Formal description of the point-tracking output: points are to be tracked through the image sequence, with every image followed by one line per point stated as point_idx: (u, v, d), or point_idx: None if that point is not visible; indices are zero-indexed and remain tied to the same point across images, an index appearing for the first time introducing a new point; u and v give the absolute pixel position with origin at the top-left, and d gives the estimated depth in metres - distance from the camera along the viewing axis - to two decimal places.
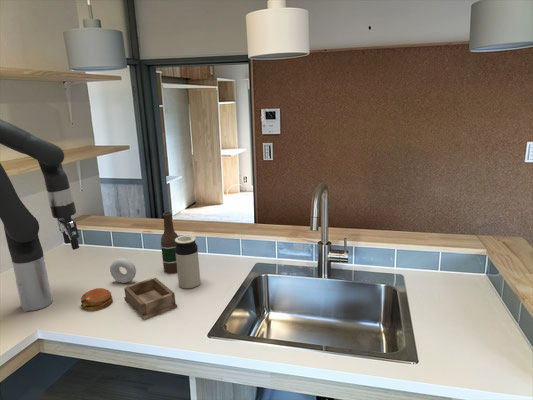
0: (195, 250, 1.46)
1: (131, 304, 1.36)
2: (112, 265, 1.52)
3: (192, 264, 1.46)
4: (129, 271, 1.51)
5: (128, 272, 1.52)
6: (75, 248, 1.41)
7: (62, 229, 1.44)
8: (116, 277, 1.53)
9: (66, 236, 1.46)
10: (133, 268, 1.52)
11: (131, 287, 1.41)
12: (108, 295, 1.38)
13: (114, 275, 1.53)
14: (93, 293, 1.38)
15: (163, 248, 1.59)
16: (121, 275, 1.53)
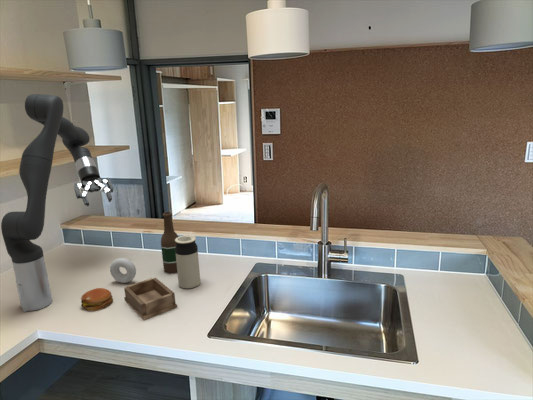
0: (195, 250, 1.46)
1: (131, 304, 1.36)
2: (112, 265, 1.52)
3: (192, 264, 1.46)
4: (129, 271, 1.51)
5: (128, 272, 1.52)
6: (110, 199, 1.65)
7: (87, 190, 1.62)
8: (116, 277, 1.53)
9: None
10: (133, 268, 1.52)
11: (131, 287, 1.41)
12: (108, 295, 1.38)
13: (114, 275, 1.53)
14: (94, 293, 1.38)
15: (163, 248, 1.59)
16: (121, 275, 1.53)
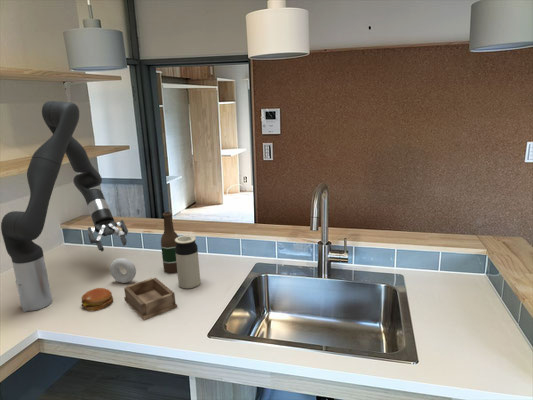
0: (195, 250, 1.46)
1: (131, 304, 1.36)
2: (112, 265, 1.52)
3: (192, 264, 1.46)
4: (129, 271, 1.51)
5: (128, 272, 1.52)
6: (125, 243, 1.60)
7: (101, 234, 1.57)
8: (116, 277, 1.53)
9: None
10: (133, 268, 1.52)
11: (131, 287, 1.41)
12: (109, 295, 1.38)
13: (114, 275, 1.53)
14: (94, 293, 1.38)
15: (163, 248, 1.59)
16: (121, 275, 1.53)
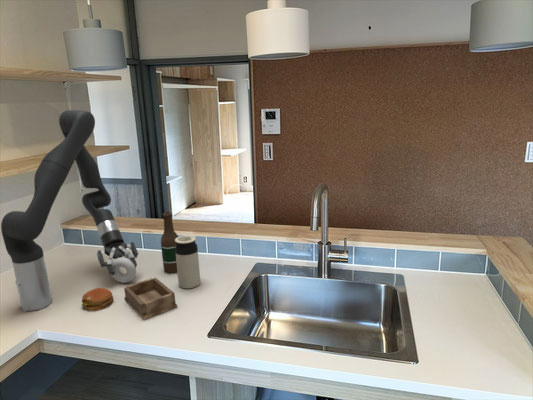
0: (195, 250, 1.46)
1: (131, 304, 1.36)
2: (112, 265, 1.52)
3: (192, 264, 1.46)
4: (129, 271, 1.51)
5: (128, 272, 1.52)
6: (135, 267, 1.55)
7: None
8: (116, 277, 1.53)
9: None
10: (133, 268, 1.52)
11: (131, 287, 1.41)
12: (109, 295, 1.38)
13: (114, 275, 1.53)
14: (94, 293, 1.38)
15: (163, 248, 1.59)
16: (121, 275, 1.53)
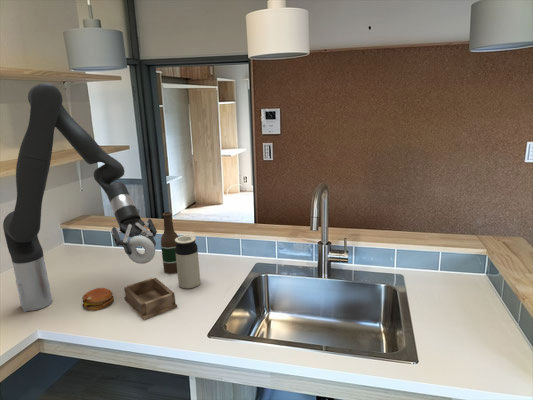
0: (195, 250, 1.46)
1: (131, 304, 1.36)
2: (129, 244, 1.35)
3: (192, 264, 1.46)
4: (148, 251, 1.35)
5: (147, 251, 1.35)
6: (154, 246, 1.39)
7: None
8: (133, 257, 1.36)
9: None
10: (152, 247, 1.36)
11: (131, 287, 1.41)
12: (109, 295, 1.38)
13: (131, 255, 1.36)
14: (95, 293, 1.38)
15: (163, 248, 1.59)
16: (138, 255, 1.37)
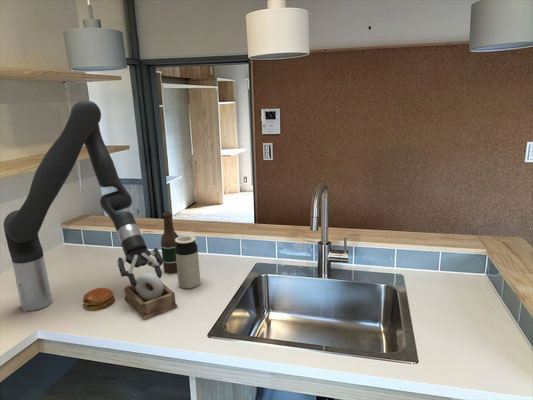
0: (195, 250, 1.46)
1: (131, 304, 1.36)
2: (137, 281, 1.36)
3: (192, 264, 1.46)
4: (156, 289, 1.35)
5: (155, 289, 1.35)
6: (160, 276, 1.38)
7: None
8: (142, 294, 1.37)
9: None
10: (160, 285, 1.35)
11: (131, 287, 1.41)
12: (110, 295, 1.39)
13: (139, 292, 1.37)
14: (96, 293, 1.38)
15: (163, 248, 1.59)
16: (147, 292, 1.37)
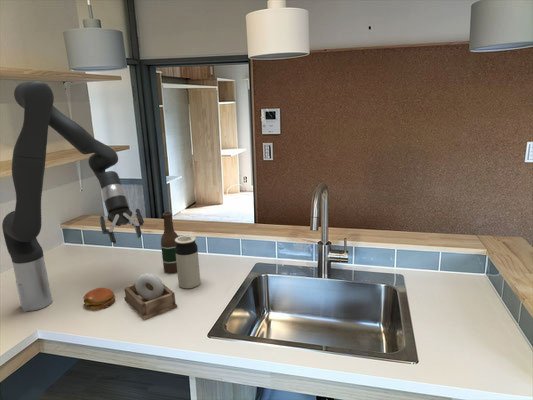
0: (195, 250, 1.46)
1: (131, 304, 1.36)
2: (138, 281, 1.36)
3: (192, 264, 1.46)
4: (156, 289, 1.35)
5: (155, 289, 1.35)
6: None
7: (114, 225, 1.43)
8: (142, 294, 1.37)
9: (113, 235, 1.42)
10: (160, 285, 1.35)
11: (131, 287, 1.41)
12: (110, 295, 1.39)
13: (140, 292, 1.37)
14: (96, 292, 1.38)
15: (163, 248, 1.59)
16: (147, 292, 1.37)
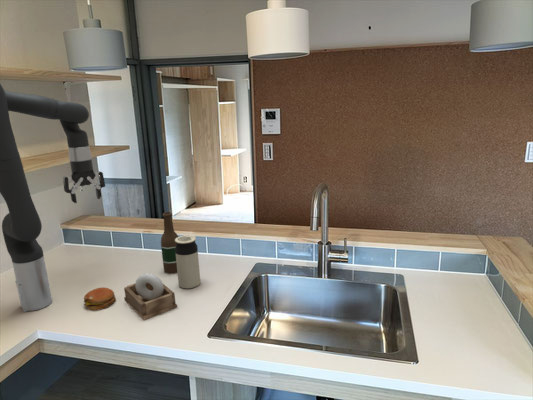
0: (195, 250, 1.46)
1: (131, 304, 1.36)
2: (138, 281, 1.36)
3: (192, 264, 1.46)
4: (156, 289, 1.35)
5: (155, 289, 1.35)
6: (99, 197, 1.59)
7: None
8: (142, 294, 1.37)
9: None
10: (160, 285, 1.35)
11: (131, 287, 1.41)
12: (111, 294, 1.39)
13: (140, 292, 1.37)
14: (96, 292, 1.38)
15: (163, 248, 1.59)
16: (147, 292, 1.37)
